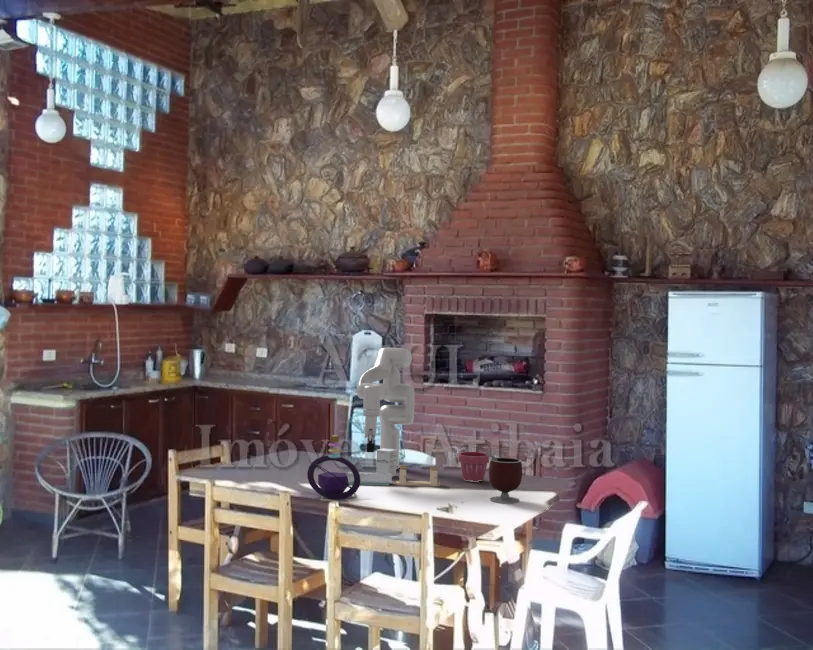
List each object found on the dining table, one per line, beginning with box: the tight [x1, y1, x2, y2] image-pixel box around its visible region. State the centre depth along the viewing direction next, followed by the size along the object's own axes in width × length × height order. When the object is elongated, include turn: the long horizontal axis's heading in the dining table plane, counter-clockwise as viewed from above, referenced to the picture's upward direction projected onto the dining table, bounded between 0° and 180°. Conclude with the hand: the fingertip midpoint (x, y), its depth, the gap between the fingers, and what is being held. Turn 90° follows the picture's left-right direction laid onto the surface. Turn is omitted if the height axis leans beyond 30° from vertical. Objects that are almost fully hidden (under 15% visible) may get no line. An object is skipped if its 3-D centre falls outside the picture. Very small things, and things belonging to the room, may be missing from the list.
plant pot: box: [458, 451, 490, 481], centre depth 411 cm, size 14×14×13 cm
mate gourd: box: [485, 452, 523, 505], centre depth 367 cm, size 16×14×20 cm
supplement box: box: [375, 448, 397, 478], centre depth 418 cm, size 7×7×13 cm
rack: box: [395, 464, 441, 487], centre depth 398 cm, size 6×20×8 cm, turn 90°
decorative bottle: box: [307, 434, 361, 500], centre depth 369 cm, size 22×21×25 cm
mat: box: [349, 482, 390, 487], centre depth 397 cm, size 8×18×1 cm, turn 90°
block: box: [346, 471, 393, 484], centre depth 398 cm, size 20×4×4 cm, turn 90°
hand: (370, 450), depth 398 cm, fingers open, 9 cm apart
